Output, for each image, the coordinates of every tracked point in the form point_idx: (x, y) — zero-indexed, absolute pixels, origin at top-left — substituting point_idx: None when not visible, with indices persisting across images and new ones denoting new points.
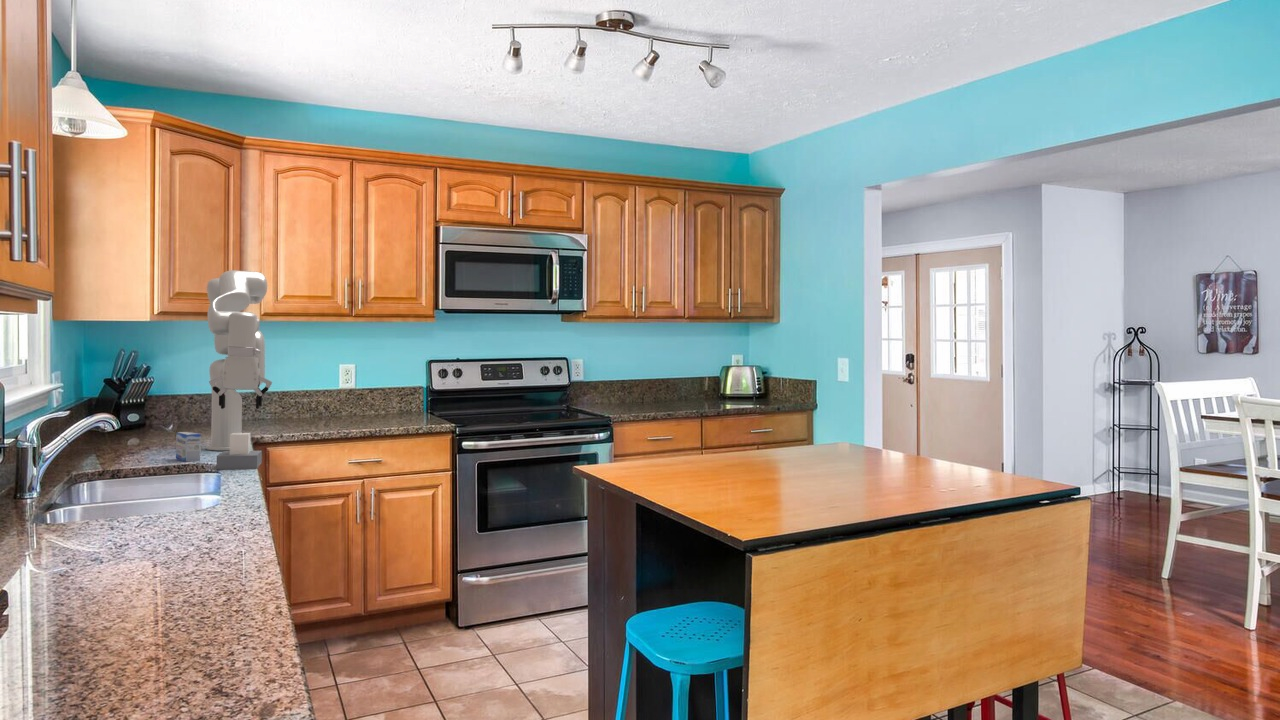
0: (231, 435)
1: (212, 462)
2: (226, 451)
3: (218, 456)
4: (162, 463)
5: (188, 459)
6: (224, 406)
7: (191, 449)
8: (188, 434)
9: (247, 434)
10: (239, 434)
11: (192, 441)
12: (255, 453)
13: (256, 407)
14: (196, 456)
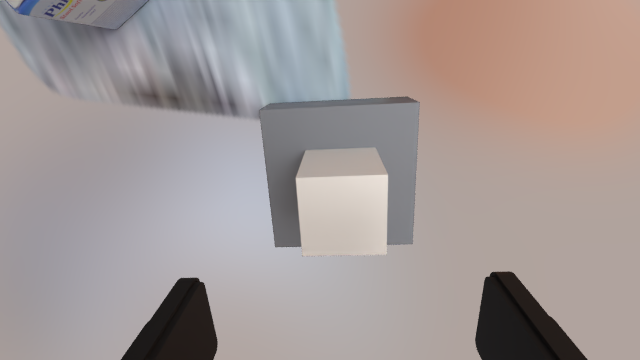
0: (309, 253)
1: (221, 53)
2: (276, 122)
3: (281, 246)
4: (54, 63)
5: (119, 24)
6: (205, 318)
7: (97, 10)
8: (17, 2)
9: (382, 248)
10: (343, 245)
11: (70, 1)
12: (401, 192)
13: (483, 353)
14: (134, 2)
